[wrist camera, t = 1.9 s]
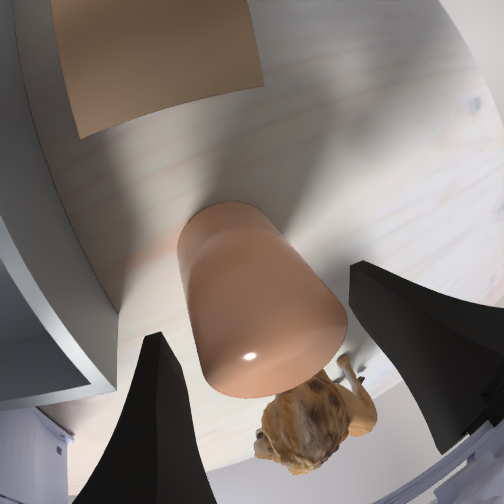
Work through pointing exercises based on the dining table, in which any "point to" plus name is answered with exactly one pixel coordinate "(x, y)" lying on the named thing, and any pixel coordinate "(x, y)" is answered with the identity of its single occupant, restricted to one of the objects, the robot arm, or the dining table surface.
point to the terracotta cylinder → (254, 304)
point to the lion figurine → (314, 420)
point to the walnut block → (151, 55)
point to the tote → (43, 268)
